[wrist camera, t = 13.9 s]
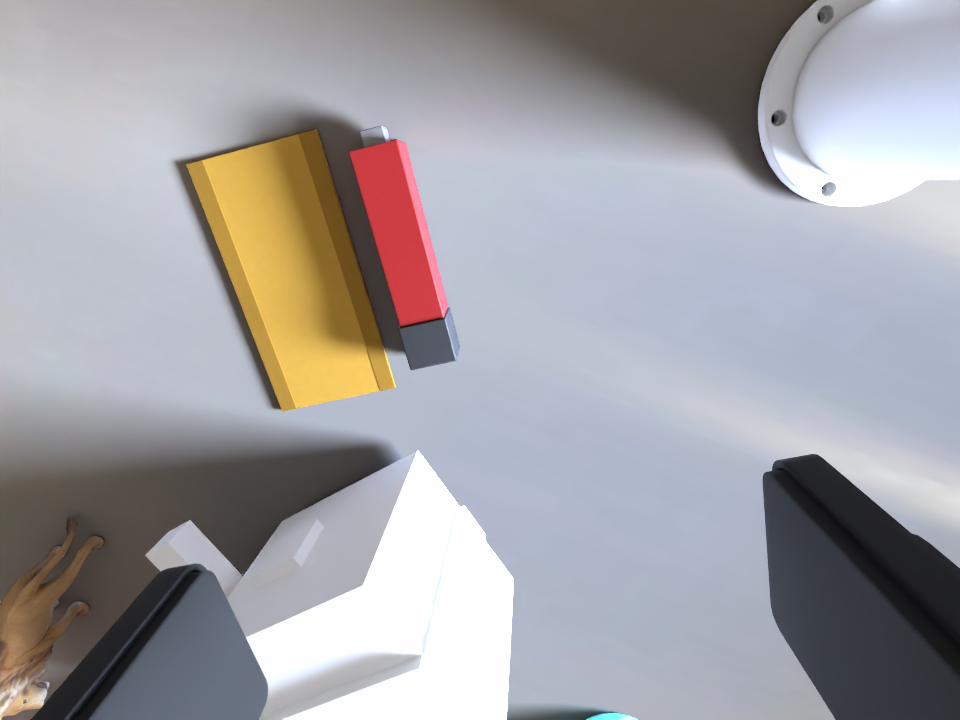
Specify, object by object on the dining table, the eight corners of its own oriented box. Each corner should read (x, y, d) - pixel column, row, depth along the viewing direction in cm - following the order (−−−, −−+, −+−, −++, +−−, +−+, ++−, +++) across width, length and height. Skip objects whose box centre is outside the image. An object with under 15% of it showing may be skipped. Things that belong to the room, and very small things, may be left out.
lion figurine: (102, 645, 48) (17, 745, 39) (44, 632, 47) (-55, 730, 39) (107, 518, 43) (11, 600, 34) (43, 502, 43) (-71, 582, 34)
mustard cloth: (317, 129, 33) (315, 129, 32) (396, 386, 38) (395, 388, 38) (188, 164, 33) (185, 164, 33) (283, 409, 39) (281, 411, 39)
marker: (402, 125, 32) (392, 119, 29) (460, 346, 37) (456, 361, 34) (354, 138, 33) (340, 133, 30) (417, 355, 37) (410, 370, 34)
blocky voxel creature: (137, 527, 45) (386, 384, 38) (311, 704, 52) (554, 612, 44) (-34, 686, 32) (302, 512, 24) (231, 900, 38) (562, 816, 30)
